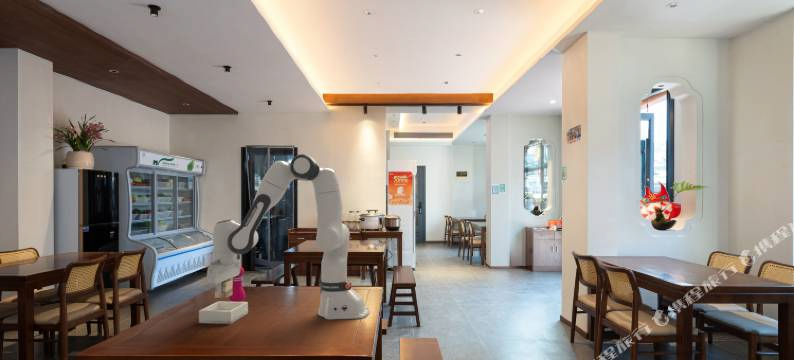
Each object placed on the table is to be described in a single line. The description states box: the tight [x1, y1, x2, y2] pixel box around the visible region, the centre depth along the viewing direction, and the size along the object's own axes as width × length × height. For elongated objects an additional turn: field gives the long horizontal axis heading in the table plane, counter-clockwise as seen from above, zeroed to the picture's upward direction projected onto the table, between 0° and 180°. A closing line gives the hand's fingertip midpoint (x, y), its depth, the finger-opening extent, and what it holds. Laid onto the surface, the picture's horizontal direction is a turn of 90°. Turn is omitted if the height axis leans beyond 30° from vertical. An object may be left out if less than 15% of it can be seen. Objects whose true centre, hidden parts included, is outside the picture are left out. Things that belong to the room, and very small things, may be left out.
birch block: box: [214, 280, 233, 299], centre depth 173 cm, size 5×5×6 cm
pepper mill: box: [228, 266, 246, 302], centre depth 191 cm, size 7×7×20 cm
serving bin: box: [198, 300, 249, 325], centre depth 173 cm, size 14×14×5 cm
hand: (223, 290), depth 173 cm, fingers closed on birch block, 5 cm apart
